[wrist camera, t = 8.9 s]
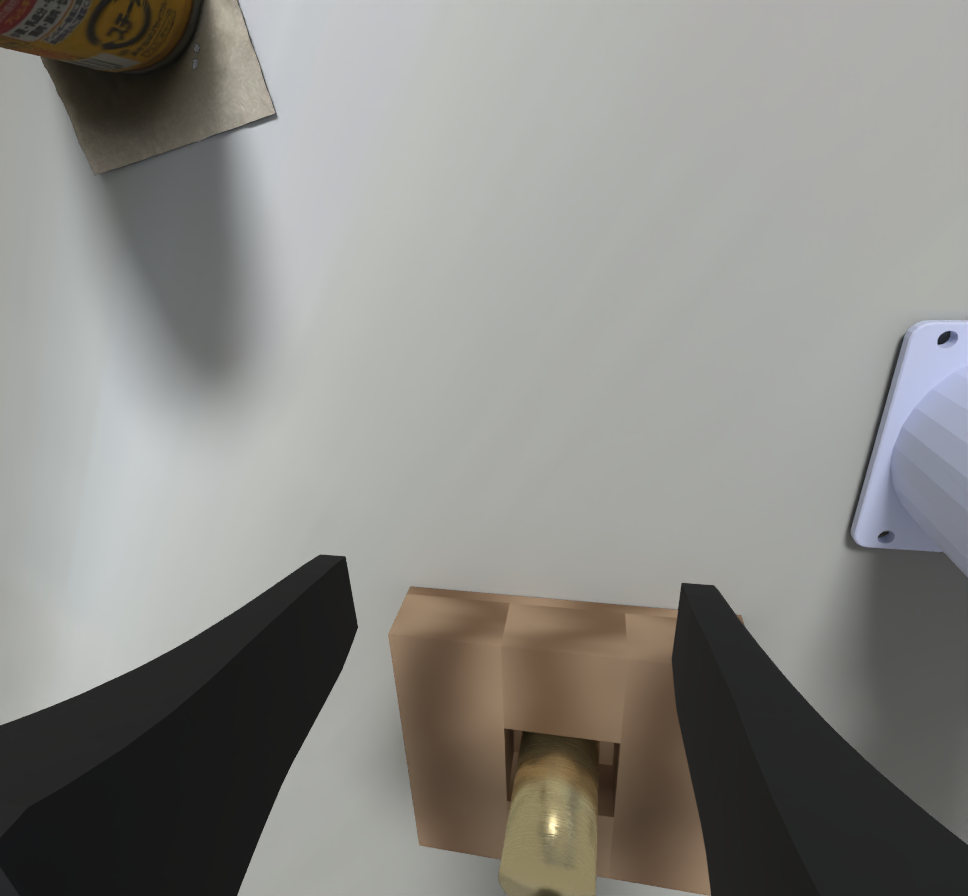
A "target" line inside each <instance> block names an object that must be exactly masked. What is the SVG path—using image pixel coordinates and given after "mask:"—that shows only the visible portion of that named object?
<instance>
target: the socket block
mask: <svg viewBox="0 0 968 896" xmlns="http://www.w3.org/2000/svg"><path fill="white" fill-rule="evenodd" d="M677 615H678V610H673V609H662V608H650V607H639V606H627V605H616V604H604V603H593V602H581V601H570V600H558V599H547V598H535V597H524V596H512V595H501V594H489V593H478V592H466V591H455V590H443V589H432V588H420V587H410V588H409V591H408V593H407V595H406V597H405V599H404V601H403V603H402V606H401V608H400V610H399V612H398V614H397V616H396V619H395V621H394V623H393V625H392V627H391V629H390V632H389V634H388V636H389V643H390V650H391V656H392V663H393V670H394V677H395V683H396V690H397V697H398V704H399V711H400V717H401V724H402V731H403V738H404V745H405V751H406V758H407V765H408V772H409V778H410V785H411V792H412V799H413V806H414V812H415V819H416V826H417V833H418V839H419V845H420V846H426V847H431V848H437V849H443V850H449V851H455V852H460V853H466V854H472V855H478V856H483V857H489V858H495V859H501V857H502V851H503V845H504V839H505V833H506V827H507V821H508V815H509V809H510V803H511V797H512V791H513V785H514V779H515V774H516V768H517V762H518V756H519V750H520V744H521V738H522V732H523V731H528V732H536V733H543V734H551V735H559V736H566V737H574V738H582V739H589V740H597V741H600V752H599V788H598V825H597V862H596V876H599V877H605V878H610V879H616V880H622V881H628V882H634V883H639V884H645V885H651V886H657V887H662V888H668V889H674V890H680V891H685V892H691V893H697V894H703V895H709V896H710V894H711V890H710V882H709V874H708V866H707V858H706V851H705V845H704V839H703V834H702V828H701V823H700V818H699V813H698V809H697V804H696V799H695V795H694V790H693V785H692V781H691V776H690V772H689V767H688V762H687V758H686V753H685V748H684V744H683V739H682V734H681V729H680V725H679V720H678V715H677V710H676V702H675V692H674V682H673V670H672V652H673V645H674V637H675V630H676V622H677ZM737 617H738V618H739V619H740V621H741V622H742V623H743V620H742V617H741V615H737ZM743 625H744V623H743Z"/></svg>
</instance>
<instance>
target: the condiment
mask: <svg viewBox="0 0 968 896" xmlns="http://www.w3.org/2000/svg"><path fill="white" fill-rule="evenodd" d="M196 44H199V47H200V49H199V52H198V53H195V51H194V47H195V45H196ZM0 47H2V48H6V49H11V50H15V51H19V52H24V53H28V54H33V55H37V56H40V57H41V59H42V62H43V64H44V66H45V68H46V69H47V71H48V73H49V74H50V76H51V78H52V80H53V82H54V85H55V87H56V90H57V93H58V95H59V96H60V98H61V100H62V102H63V103H64V106H65V108H66V110H67V113H68V115H69V117H70V119H71V121H72V124H73V127H74V130H75V133H76V135H77V138H78V141H79V144H80V146H81V148H82V150H83V152H84V154H85V155H86V158H87V160H88V162H89V164H90V166H91V169H92V171H93V173H94V175H97V174H101V173H104V172H107V171H110V170H112V169H115V168H120V167H123V166H126V165H129V164H132V163H135V162H138V161H141V160H144V159H146V158H149V157H152V156H156V155H159V154H162V153H165V152H167V151H170V150H173V149H176V148H179V147H182V146H185V145H187V144H190V143H193V142H198V141H199V140H203V139H205V138H208V137H210V136H212V135H215V134H217V133H221V132H223V131H227V130H230V129H233V128H236V127H239V126H242V125H244V124H246V123H249V122H252V121H255V120H257V119H260V118H263V117H266V116H269V115H272V114H275V110H274V108H273V104H272V101H271V98H270V95H269V93H268V91H267V88H266V85H265V82H264V79H263V76H262V73H261V69H260V65H259V62H258V60H257V57H256V54H255V51H254V49H253V47H252V44H251V42H250V39H249V36H248V32H247V28H246V26H245V23H244V20H243V16H242V13H241V10H240V7H239V5H238V3H237V0H0ZM194 58H196V59H197V60H198V65H197V68H196V69H194V70H193V69H192V64H193V60H194Z"/></svg>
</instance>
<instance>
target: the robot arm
mask: <svg viewBox="0 0 968 896" xmlns="http://www.w3.org/2000/svg"><path fill="white" fill-rule="evenodd" d="M946 331H950V338H949V339H948V341H947V342H945V343H944V344H940V345H938V344H937V339H938V338H939V336H940V335H941V334H942V333H944V332H946ZM884 531H890V532H889V533H888V535H886V536H884V537H878V536H879V534H880V533H882V532H884ZM851 536H852V538H853V539H854V541H855V542H856V543H857V544H858V545H860V546H863V547H869V548H885V549H900V550H916V551H932V552H944V553H945V554H946V555H947V556H948V557H949V558H950V559H951V560H952V562H953V563H954V564H955V565H956V566H957V567H958V568H959V569H960V570H961V571H962V572H963V573H964V574H965V575H966V576H967V577H968V320H926V321H920V322H918V323H916V324H914V325H913V326H912V327H910V328H909V329H908V330H907V332H906V334H905V336H904V340H903V343H902V347H901V350H900V354H899V358H898V361H897V365H896V369H895V372H894V376H893V379H892V383H891V387H890V390H889V394H888V397H887V401H886V405H885V408H884V412H883V415H882V419H881V423H880V426H879V430H878V434H877V437H876V441H875V444H874V448H873V452H872V455H871V459H870V462H869V466H868V470H867V473H866V477H865V480H864V484H863V488H862V491H861V495H860V499H859V502H858V506H857V509H856V513H855V517H854V520H853V524H852V527H851ZM357 629H358V625H357V619H356V613H355V608H354V602H353V596H352V591H351V585H350V579H349V574H348V568H347V562H346V557H345V556H332V555H319V556H317V557H315V558H314V559H312V560H311V561H309V562H308V563H306V564H305V565H303V566H302V567H300V568H299V569H297V570H296V571H294V572H293V573H291V574H290V575H288V576H287V577H286V578H284V579H283V580H281V581H280V582H278V583H277V584H275V585H274V586H273V587H271V588H270V589H268V590H267V591H265V592H264V593H262V594H261V595H259V596H258V597H256V598H255V599H253V600H252V601H250V602H249V603H248V604H246V605H245V606H243V607H242V608H240V609H239V610H237V611H235V612H234V613H232V614H231V615H229V616H227V617H226V618H224V619H223V620H221V621H219V622H218V623H216V624H215V625H213V626H211V627H210V628H208V629H207V630H205V631H203V632H202V633H200V634H199V635H197V636H195V637H194V638H192V639H190V640H189V641H187V642H185V643H183V644H182V645H180V646H178V647H176V648H174V649H173V650H171V651H169V652H167V653H165V654H163V655H161V656H159V657H158V658H156V659H154V660H152V661H150V662H148V663H146V664H144V665H142V666H140V667H138V668H136V669H134V670H132V671H130V672H128V673H126V674H124V675H121V676H119V677H117V678H115V679H113V680H111V681H108V682H106V683H104V684H102V685H100V686H98V687H95V688H93V689H91V690H89V691H87V692H85V693H82V694H80V695H78V696H75V697H73V698H70V699H68V700H66V701H63V702H61V703H58V704H56V705H53V706H51V707H48V708H46V709H43V710H41V711H38V712H35V713H33V714H30V715H28V716H25V717H22V718H20V719H17V720H14V721H12V722H9V723H6V724H3V725H0V896H237V894H238V892H239V889H240V886H241V884H242V881H243V879H244V876H245V874H246V871H247V868H248V866H249V863H250V861H251V858H252V856H253V853H254V851H255V848H256V846H257V843H258V840H259V838H260V835H261V833H262V831H263V828H264V826H265V823H266V821H267V819H268V816H269V814H270V811H271V809H272V807H273V804H274V802H275V800H276V797H277V795H278V792H279V790H280V788H281V785H282V783H283V781H284V779H285V777H286V775H287V773H288V771H289V769H290V767H291V765H292V763H293V761H294V759H295V757H296V755H297V753H298V752H299V750H300V748H301V746H302V744H303V742H304V740H305V739H306V737H307V735H308V733H309V731H310V729H311V727H312V726H313V724H314V722H315V720H316V718H317V716H318V714H319V713H320V711H321V709H322V707H323V705H324V703H325V701H326V699H327V698H328V696H329V694H330V692H331V690H332V688H333V686H334V684H335V682H336V680H337V679H338V677H339V675H340V673H341V671H342V669H343V666H344V664H345V661H346V658H347V656H348V653H349V651H350V648H351V645H352V643H353V640H354V637H355V634H356V631H357ZM672 670H673V682H674V692H675V702H676V710H677V715H678V720H679V725H680V729H681V734H682V739H683V744H684V748H685V753H686V758H687V762H688V767H689V772H690V776H691V781H692V785H693V790H694V795H695V799H696V804H697V809H698V813H699V818H700V823H701V828H702V834H703V839H704V845H705V851H706V858H707V866H708V874H709V882H710V890H711V896H968V845H967V844H966V843H965V842H963V841H962V840H961V839H959V838H958V837H957V836H956V835H954V834H953V833H952V832H951V831H949V830H948V829H947V828H945V827H944V826H943V825H942V824H940V823H939V822H938V821H937V820H935V819H934V818H933V817H932V816H930V815H929V814H928V813H927V812H926V811H924V810H923V809H922V808H921V807H920V806H918V805H917V804H916V803H915V802H914V801H913V800H911V799H910V798H909V797H908V796H907V795H905V794H904V793H903V792H902V791H901V790H900V789H898V788H897V787H896V786H895V785H894V784H892V783H891V782H890V781H889V780H888V779H886V778H885V777H884V776H883V775H882V774H881V773H880V772H879V771H878V770H876V769H875V768H874V767H873V766H872V765H871V764H870V763H869V762H867V761H866V760H865V759H864V758H863V757H862V756H861V755H860V754H859V753H858V752H857V751H856V750H855V749H854V748H853V747H852V746H851V745H850V744H848V743H847V742H846V741H845V740H844V739H843V738H842V737H841V736H840V735H839V734H838V733H837V732H836V731H835V730H834V729H833V728H832V727H831V726H830V725H829V724H828V723H827V722H826V721H825V720H824V719H823V718H822V717H821V716H820V715H819V714H818V712H817V711H816V710H815V709H814V708H813V707H812V706H811V705H810V704H809V703H808V702H807V701H806V699H805V698H804V697H803V696H802V695H801V694H800V693H799V692H798V691H797V690H796V688H795V687H794V686H793V685H792V684H791V683H790V682H789V680H788V679H787V678H786V677H785V676H784V675H783V674H782V672H781V671H780V670H779V669H778V667H777V666H776V665H775V664H774V663H773V661H772V660H771V659H770V658H769V657H768V655H767V654H766V653H765V652H764V650H763V649H762V648H761V647H760V646H759V644H758V643H757V642H756V640H755V639H754V638H753V637H752V635H751V634H750V633H749V631H748V630H747V629H746V627H745V626H744V625H743V623H742V622H741V621H740V619H739V618H738V617H737V615H736V614H735V613H734V611H733V610H732V609H731V607H730V606H729V604H728V603H727V602H726V600H725V599H724V597H723V596H722V595H721V593H720V592H719V590H718V589H717V588H716V587H715V586H714V585H702V584H689V583H682V585H681V592H680V600H679V607H678V615H677V622H676V630H675V637H674V645H673V652H672Z"/></svg>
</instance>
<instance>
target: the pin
mask: <svg viewBox="0 0 968 896" xmlns="http://www.w3.org/2000/svg"><path fill="white" fill-rule="evenodd" d="M599 752H600V741H597V740H589V739H582V738H574V737H566V736H559V735H551V734H543V733H536V732H528V731H523V732H522V738H521V744H520V750H519V756H518V762H517V768H516V774H515V779H514V785H513V791H512V797H511V803H510V809H509V815H508V821H507V827H506V833H505V839H504V845H503V851H502V857H501V863H500V869H499V876H498V878H499V883H500V885H501V887H502V889H503V890H504V891H505V893H506V894H507V895H508V896H596V862H597V825H598V788H599Z"/></svg>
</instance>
